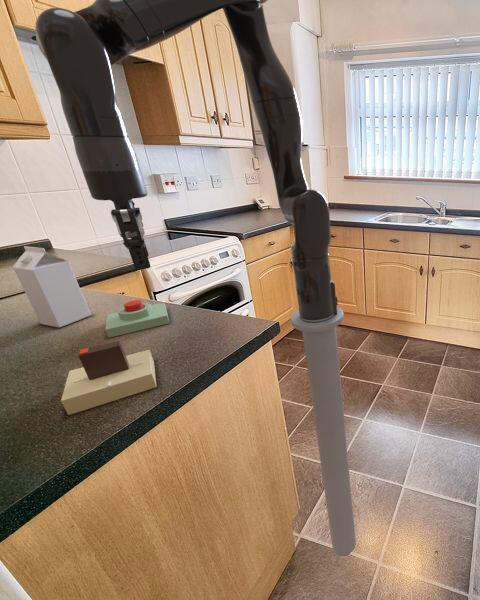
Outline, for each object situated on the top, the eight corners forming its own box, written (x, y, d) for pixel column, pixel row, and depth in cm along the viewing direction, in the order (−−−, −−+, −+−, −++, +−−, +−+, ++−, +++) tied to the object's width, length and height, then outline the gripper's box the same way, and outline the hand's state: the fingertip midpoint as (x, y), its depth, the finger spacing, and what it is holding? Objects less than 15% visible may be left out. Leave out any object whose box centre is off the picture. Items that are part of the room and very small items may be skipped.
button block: (166, 309, 91) (162, 296, 90) (169, 323, 84) (164, 308, 82) (110, 321, 85) (104, 307, 83) (108, 337, 77) (102, 322, 76)
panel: (153, 361, 68) (149, 348, 67) (156, 387, 61) (151, 372, 60) (75, 384, 62) (68, 370, 61) (68, 415, 54) (60, 400, 53)
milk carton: (73, 312, 90) (42, 242, 82) (92, 315, 88) (61, 244, 80) (40, 324, 84) (3, 250, 76) (59, 328, 82) (23, 252, 74)
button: (143, 305, 85) (141, 298, 84) (144, 310, 82) (142, 303, 82) (126, 308, 83) (123, 302, 82) (125, 314, 80) (123, 307, 80)
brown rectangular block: (129, 364, 62) (119, 339, 60) (129, 369, 61) (119, 344, 59) (90, 374, 59) (78, 349, 57) (89, 380, 58) (77, 354, 56)
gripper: (140, 168, 52) (170, 268, 58) (139, 166, 62) (164, 251, 69) (76, 170, 48) (115, 277, 54) (86, 167, 58) (118, 257, 65)
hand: (142, 262), depth 61 cm, fingers open, 8 cm apart
